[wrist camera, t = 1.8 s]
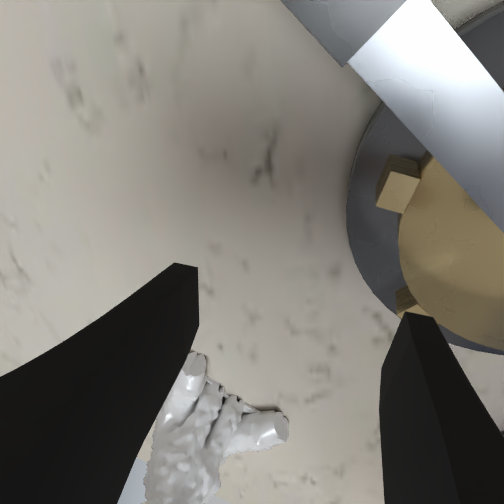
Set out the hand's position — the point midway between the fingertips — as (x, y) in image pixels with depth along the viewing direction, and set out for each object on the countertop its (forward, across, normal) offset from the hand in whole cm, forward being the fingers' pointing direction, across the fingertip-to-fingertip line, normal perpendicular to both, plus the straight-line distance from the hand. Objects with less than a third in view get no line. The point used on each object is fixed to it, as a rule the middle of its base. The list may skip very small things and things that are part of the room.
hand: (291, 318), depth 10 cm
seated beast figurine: (+10, +5, +20) cm, 23 cm away
